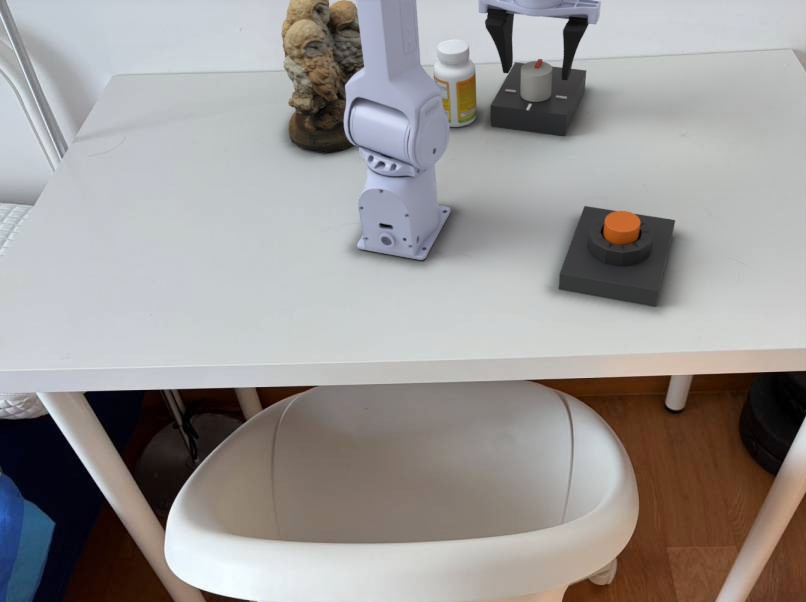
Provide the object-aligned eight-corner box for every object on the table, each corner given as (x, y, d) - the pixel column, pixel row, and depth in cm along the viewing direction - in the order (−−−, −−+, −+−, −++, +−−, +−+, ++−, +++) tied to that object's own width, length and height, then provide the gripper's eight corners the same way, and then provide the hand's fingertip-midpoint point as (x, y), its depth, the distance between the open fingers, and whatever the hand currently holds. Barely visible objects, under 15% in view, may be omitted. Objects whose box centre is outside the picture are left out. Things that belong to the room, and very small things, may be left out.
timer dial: (547, 103, 101) (548, 75, 98) (516, 99, 102) (517, 71, 99) (554, 88, 104) (555, 60, 101) (524, 85, 104) (525, 57, 102)
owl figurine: (351, 165, 99) (328, 28, 86) (268, 151, 102) (234, 17, 89) (404, 95, 110) (391, -35, 97) (328, 84, 113) (305, -43, 100)
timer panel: (564, 136, 101) (566, 114, 99) (490, 126, 104) (489, 104, 101) (584, 91, 109) (586, 69, 106) (514, 82, 111) (515, 60, 109)
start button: (635, 248, 80) (637, 234, 79) (600, 242, 81) (601, 228, 80) (641, 227, 82) (643, 213, 81) (606, 221, 83) (608, 208, 82)
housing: (655, 307, 80) (661, 277, 77) (558, 289, 82) (560, 259, 79) (672, 236, 87) (678, 205, 84) (583, 221, 89) (585, 191, 86)
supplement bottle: (478, 107, 107) (476, 36, 100) (475, 128, 103) (472, 56, 96) (439, 106, 107) (434, 36, 100) (434, 127, 104) (428, 56, 97)
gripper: (609, -49, 91) (599, 64, 101) (489, -59, 95) (491, 52, 105) (597, -25, 87) (587, 91, 97) (471, -36, 90) (475, 77, 100)
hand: (536, 73), depth 101 cm, fingers open, 7 cm apart
